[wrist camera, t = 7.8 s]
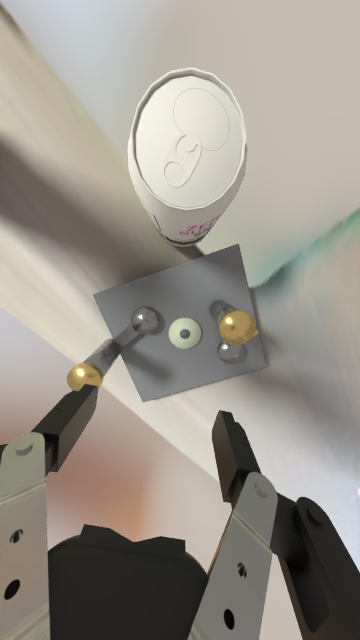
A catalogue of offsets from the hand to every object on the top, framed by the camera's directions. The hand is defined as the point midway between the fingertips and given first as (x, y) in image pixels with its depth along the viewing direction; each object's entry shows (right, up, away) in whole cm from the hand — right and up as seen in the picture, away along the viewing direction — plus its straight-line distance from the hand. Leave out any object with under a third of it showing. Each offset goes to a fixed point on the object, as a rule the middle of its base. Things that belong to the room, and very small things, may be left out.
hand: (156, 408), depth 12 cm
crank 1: (-6, +4, +16) cm, 18 cm away
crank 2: (+9, +4, +16) cm, 19 cm away
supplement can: (+2, +20, +14) cm, 25 cm away
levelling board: (+2, +4, +18) cm, 19 cm away
